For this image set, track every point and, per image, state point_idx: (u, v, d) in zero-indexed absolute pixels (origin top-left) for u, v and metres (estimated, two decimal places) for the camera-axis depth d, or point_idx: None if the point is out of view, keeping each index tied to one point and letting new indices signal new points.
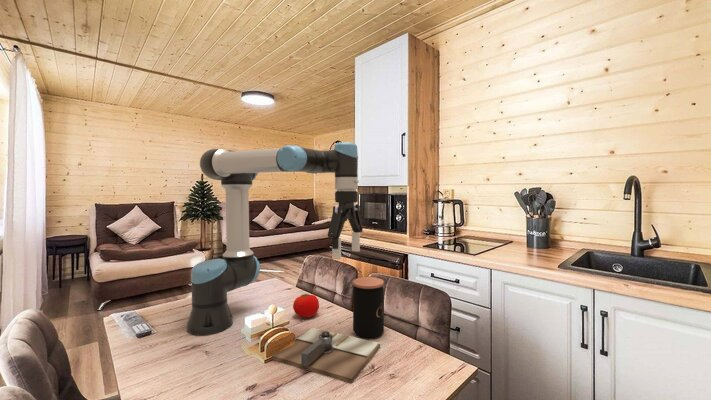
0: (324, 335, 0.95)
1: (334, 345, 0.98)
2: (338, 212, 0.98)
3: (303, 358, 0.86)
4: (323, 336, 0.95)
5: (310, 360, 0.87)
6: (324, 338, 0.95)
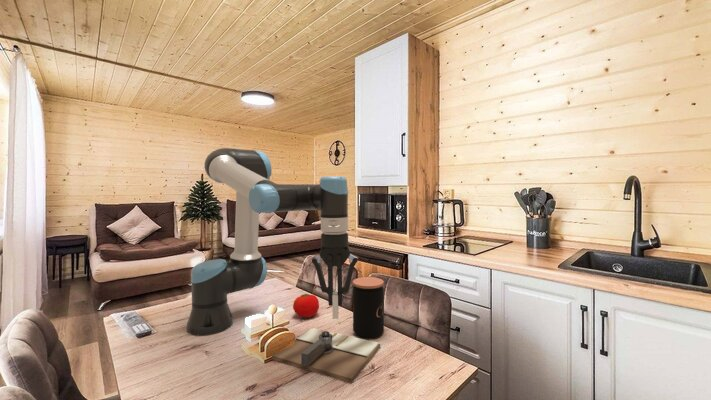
0: (324, 335, 0.95)
1: (334, 345, 0.98)
2: None
3: (303, 358, 0.86)
4: (323, 336, 0.95)
5: (310, 360, 0.87)
6: (324, 338, 0.95)
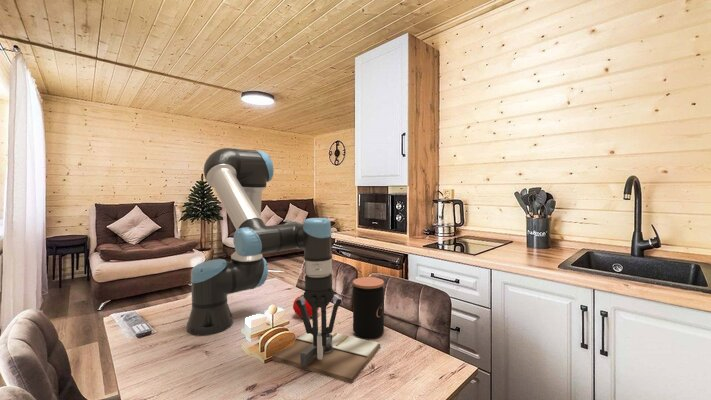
0: None
1: (334, 345, 0.98)
2: None
3: (303, 358, 0.86)
4: None
5: (309, 359, 0.87)
6: None
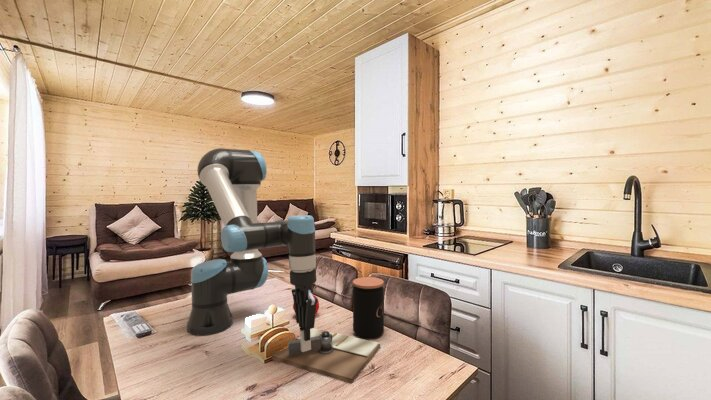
0: (322, 334, 0.95)
1: (334, 345, 0.98)
2: (315, 304, 0.88)
3: (288, 346, 0.93)
4: (322, 335, 0.96)
5: (293, 350, 0.92)
6: (321, 337, 0.95)
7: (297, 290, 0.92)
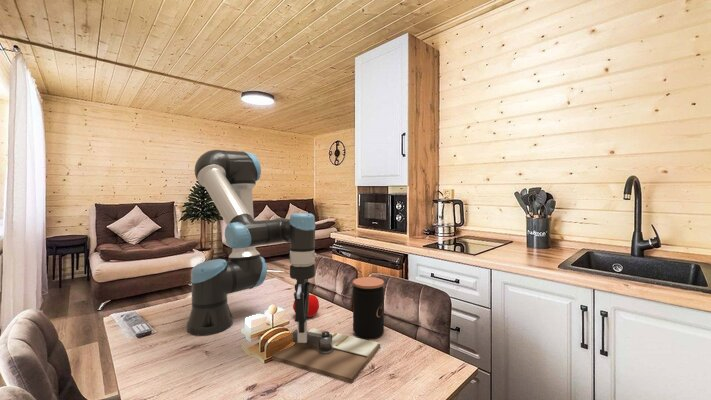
0: None
1: (334, 345, 0.98)
2: (301, 299, 0.91)
3: None
4: None
5: (296, 339, 0.99)
6: (320, 336, 0.96)
7: None
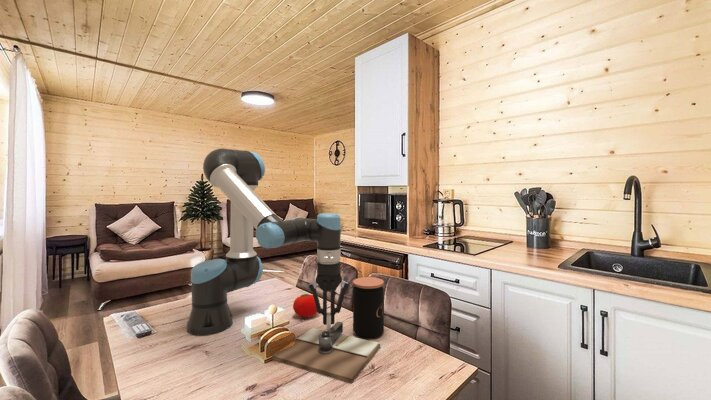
0: None
1: (334, 345, 0.98)
2: None
3: None
4: None
5: None
6: None
7: None
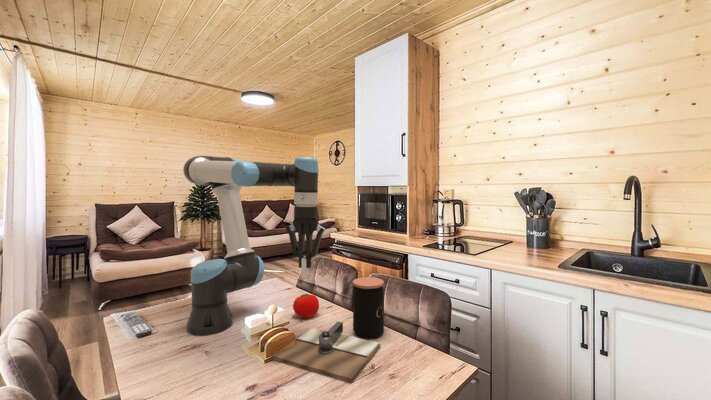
0: None
1: (334, 345, 0.98)
2: None
3: None
4: None
5: None
6: None
7: None
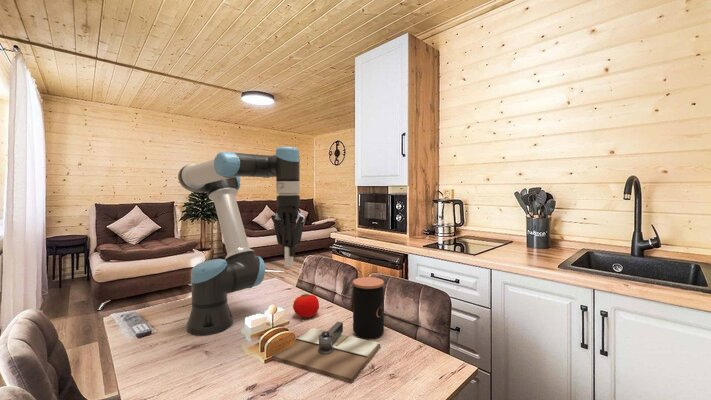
0: None
1: (334, 345, 0.98)
2: None
3: None
4: None
5: None
6: None
7: None
